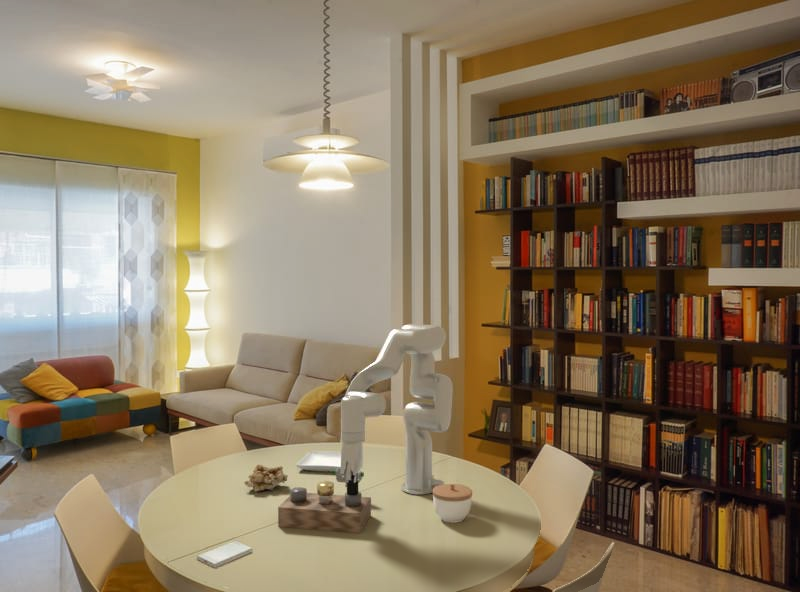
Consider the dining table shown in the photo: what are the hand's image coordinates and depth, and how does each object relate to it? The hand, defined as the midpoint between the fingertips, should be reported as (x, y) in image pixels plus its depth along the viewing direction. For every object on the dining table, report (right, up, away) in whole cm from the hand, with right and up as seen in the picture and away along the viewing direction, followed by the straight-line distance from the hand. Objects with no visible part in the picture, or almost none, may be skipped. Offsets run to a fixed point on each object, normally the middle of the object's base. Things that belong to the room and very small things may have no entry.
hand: (352, 494), depth 197 cm
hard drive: (-34, -11, -22) cm, 42 cm away
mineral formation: (-33, -8, +33) cm, 48 cm away
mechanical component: (-3, -9, +21) cm, 23 cm away
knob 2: (0, -8, 0) cm, 8 cm away
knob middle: (-9, -5, +2) cm, 10 cm away
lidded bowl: (+32, -9, +5) cm, 33 cm away
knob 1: (-18, -8, +4) cm, 20 cm away
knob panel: (-9, -9, +2) cm, 13 cm away
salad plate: (-15, -8, +60) cm, 63 cm away
